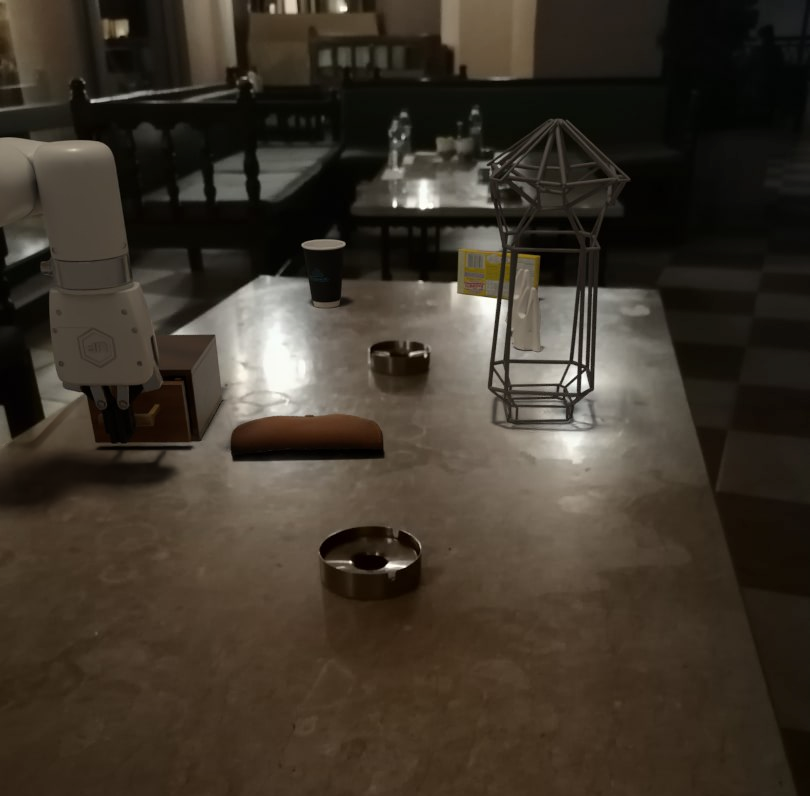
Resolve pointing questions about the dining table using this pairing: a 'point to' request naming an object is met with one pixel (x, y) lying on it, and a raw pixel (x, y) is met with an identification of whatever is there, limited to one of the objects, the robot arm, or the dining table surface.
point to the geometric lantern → (612, 195)
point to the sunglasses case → (306, 434)
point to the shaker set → (525, 314)
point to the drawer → (153, 414)
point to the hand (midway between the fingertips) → (122, 438)
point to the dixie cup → (324, 271)
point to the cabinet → (193, 374)
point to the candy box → (490, 272)
